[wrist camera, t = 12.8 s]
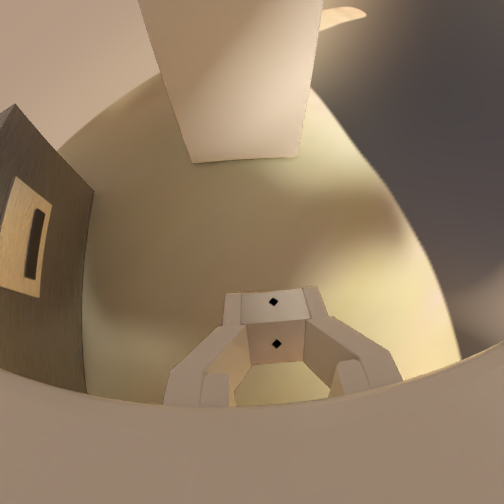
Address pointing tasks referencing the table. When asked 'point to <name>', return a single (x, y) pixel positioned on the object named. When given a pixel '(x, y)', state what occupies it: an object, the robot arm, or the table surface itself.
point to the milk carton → (236, 72)
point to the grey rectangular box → (40, 257)
